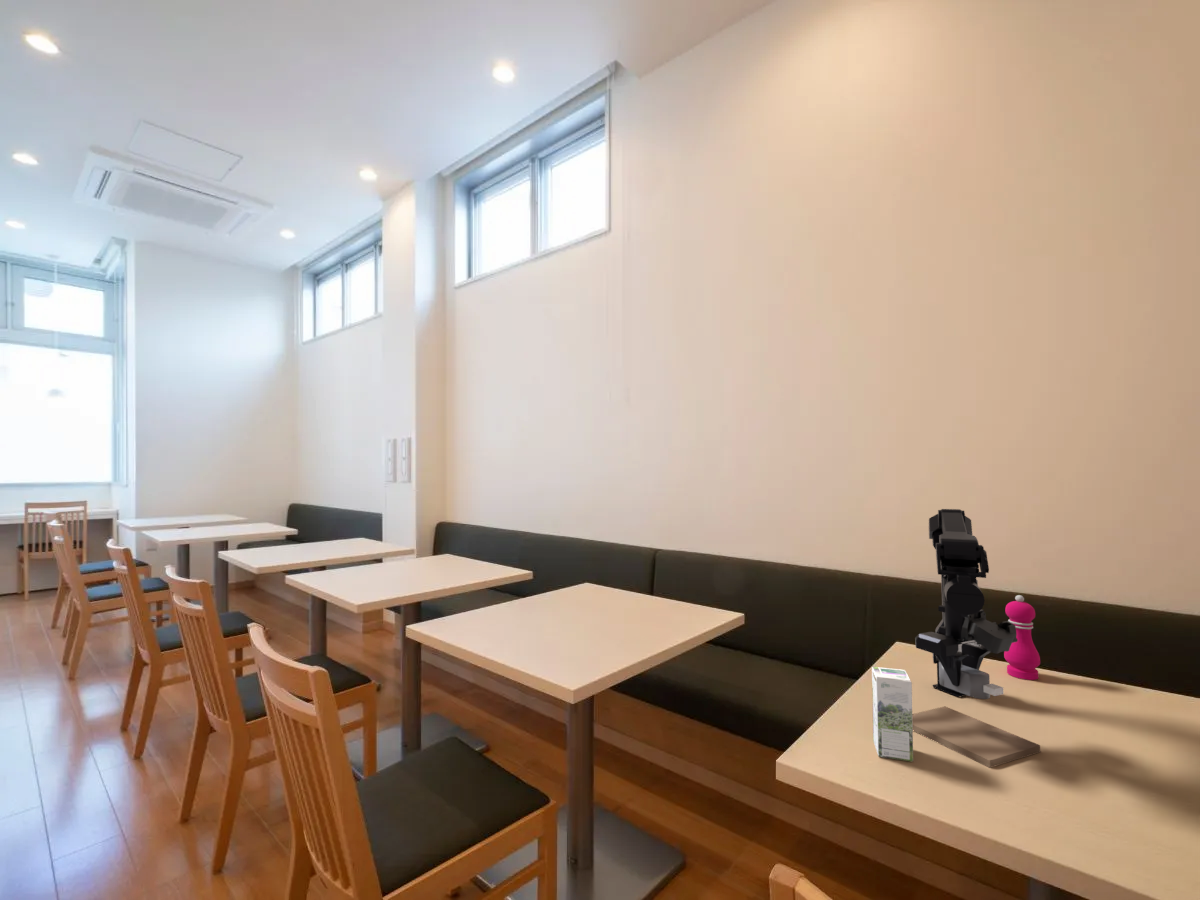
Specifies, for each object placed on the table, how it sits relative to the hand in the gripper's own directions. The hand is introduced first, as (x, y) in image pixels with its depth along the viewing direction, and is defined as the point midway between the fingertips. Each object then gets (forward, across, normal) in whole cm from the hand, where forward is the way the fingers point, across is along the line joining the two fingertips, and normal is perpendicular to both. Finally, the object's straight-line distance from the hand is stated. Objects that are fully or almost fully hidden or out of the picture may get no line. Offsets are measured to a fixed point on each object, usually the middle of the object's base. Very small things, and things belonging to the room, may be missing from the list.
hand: (963, 684), depth 105 cm
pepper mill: (+10, +45, +16) cm, 49 cm away
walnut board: (+10, 0, 0) cm, 10 cm away
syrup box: (+10, -18, +1) cm, 21 cm away
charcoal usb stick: (+1, 0, 0) cm, 1 cm away
